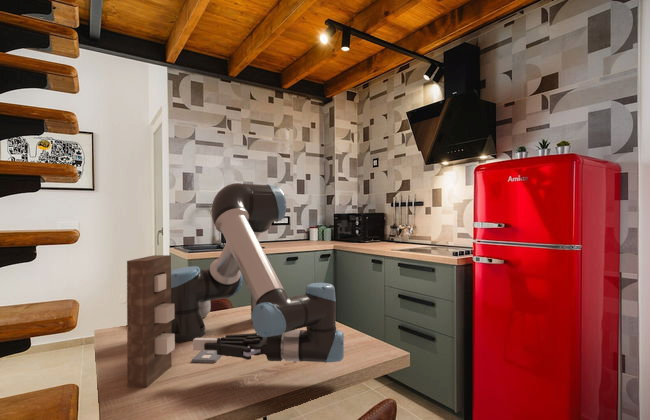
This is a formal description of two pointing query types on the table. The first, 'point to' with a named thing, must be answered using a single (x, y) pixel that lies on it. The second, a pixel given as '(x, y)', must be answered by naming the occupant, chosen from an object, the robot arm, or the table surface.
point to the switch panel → (146, 319)
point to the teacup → (205, 308)
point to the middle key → (164, 313)
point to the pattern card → (206, 357)
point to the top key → (159, 282)
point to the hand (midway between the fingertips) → (194, 344)
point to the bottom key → (164, 343)
